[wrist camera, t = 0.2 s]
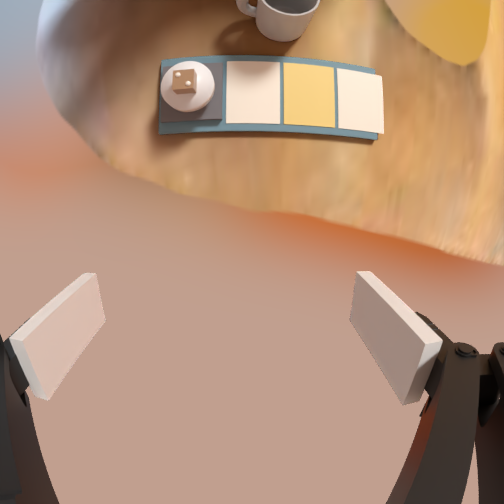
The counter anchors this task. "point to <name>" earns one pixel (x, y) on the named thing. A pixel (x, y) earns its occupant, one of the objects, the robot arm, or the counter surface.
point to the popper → (188, 86)
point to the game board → (282, 97)
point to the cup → (280, 17)
